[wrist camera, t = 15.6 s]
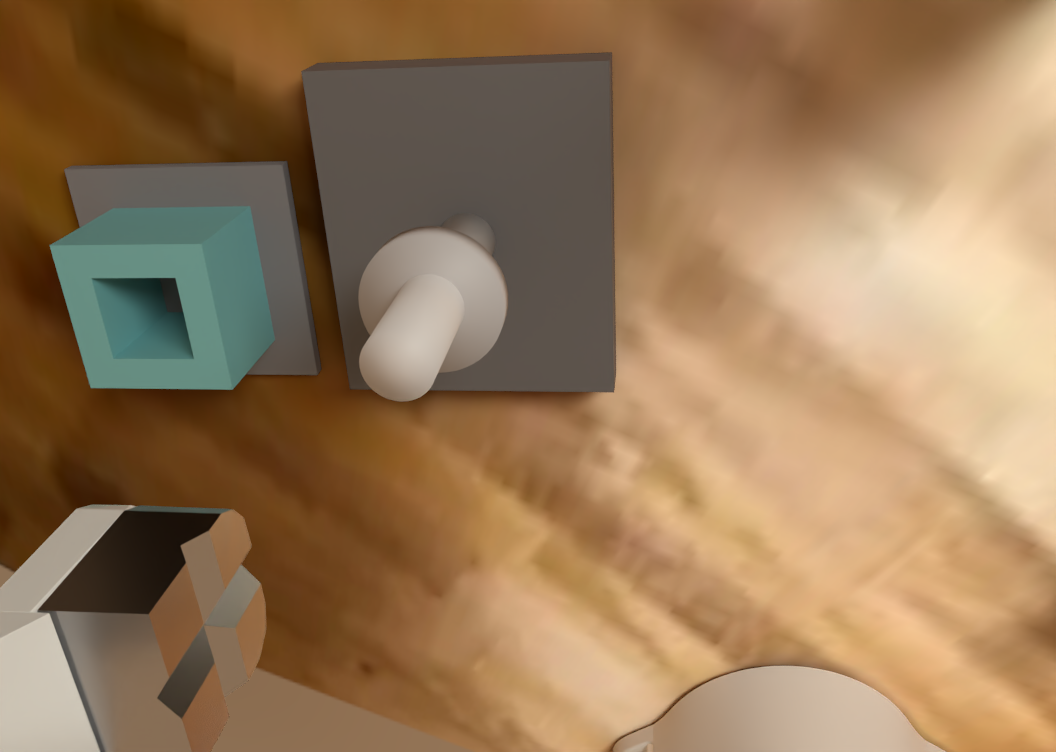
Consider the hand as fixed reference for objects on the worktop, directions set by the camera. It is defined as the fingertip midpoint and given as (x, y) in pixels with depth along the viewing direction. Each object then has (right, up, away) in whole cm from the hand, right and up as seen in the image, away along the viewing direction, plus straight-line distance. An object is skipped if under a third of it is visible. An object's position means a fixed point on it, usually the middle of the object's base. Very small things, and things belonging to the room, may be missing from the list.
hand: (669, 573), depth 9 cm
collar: (-16, +6, +35) cm, 39 cm away
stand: (-4, +8, +33) cm, 34 cm away
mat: (-16, +7, +36) cm, 40 cm away
